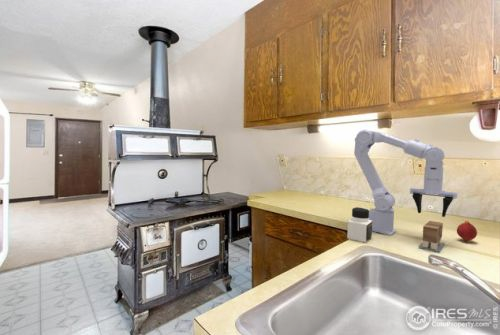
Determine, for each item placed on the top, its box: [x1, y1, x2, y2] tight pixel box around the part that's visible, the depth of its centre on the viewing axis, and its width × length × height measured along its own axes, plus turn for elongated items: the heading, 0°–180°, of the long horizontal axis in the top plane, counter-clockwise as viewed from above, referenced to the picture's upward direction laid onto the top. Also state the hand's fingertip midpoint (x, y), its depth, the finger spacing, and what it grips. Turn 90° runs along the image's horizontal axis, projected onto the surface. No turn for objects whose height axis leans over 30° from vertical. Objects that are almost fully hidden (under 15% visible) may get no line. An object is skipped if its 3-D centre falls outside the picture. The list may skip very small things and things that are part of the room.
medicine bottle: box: [347, 206, 373, 244], centre depth 98 cm, size 7×7×12 cm
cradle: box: [418, 237, 446, 254], centre depth 90 cm, size 10×6×3 cm, turn 134°
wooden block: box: [422, 220, 444, 244], centre depth 90 cm, size 10×4×5 cm, turn 134°
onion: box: [456, 220, 478, 242], centre depth 95 cm, size 6×6×8 cm
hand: (431, 214), depth 96 cm, fingers open, 7 cm apart
